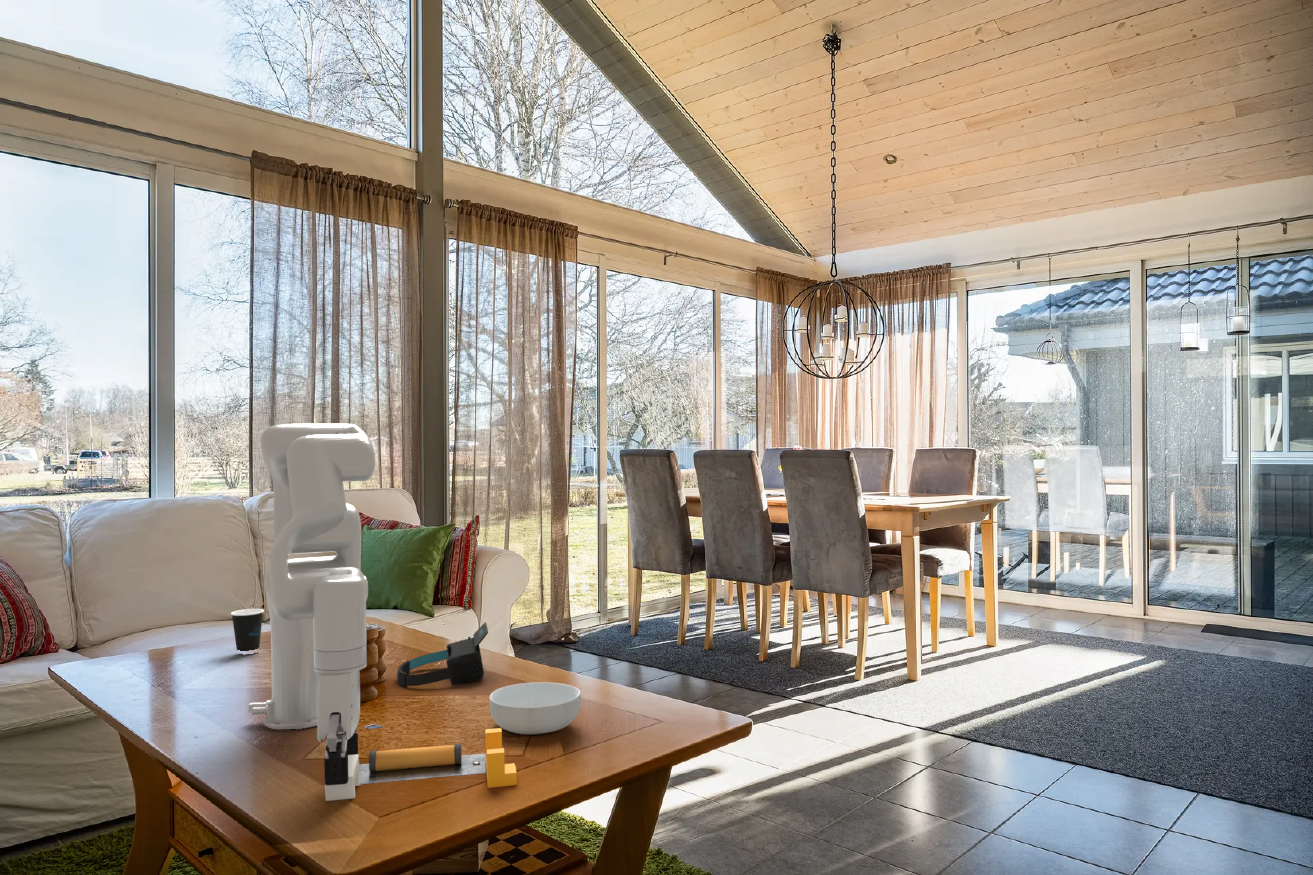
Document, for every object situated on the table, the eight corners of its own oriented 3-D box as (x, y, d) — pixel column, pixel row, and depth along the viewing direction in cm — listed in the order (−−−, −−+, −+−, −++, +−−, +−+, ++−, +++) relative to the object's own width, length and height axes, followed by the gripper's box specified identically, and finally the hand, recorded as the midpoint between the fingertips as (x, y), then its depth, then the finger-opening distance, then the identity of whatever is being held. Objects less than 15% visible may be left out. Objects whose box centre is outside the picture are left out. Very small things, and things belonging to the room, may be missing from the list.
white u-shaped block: (326, 808, 129) (324, 779, 128) (332, 784, 135) (330, 756, 134) (354, 805, 130) (352, 776, 129) (360, 782, 135) (358, 754, 134)
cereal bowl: (555, 751, 151) (554, 710, 151) (472, 742, 157) (471, 702, 157) (596, 721, 167) (595, 684, 167) (518, 714, 173) (518, 678, 173)
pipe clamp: (516, 794, 133) (516, 751, 133) (487, 797, 132) (487, 754, 132) (512, 766, 145) (512, 727, 145) (486, 769, 144) (485, 729, 144)
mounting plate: (339, 794, 134) (339, 784, 134) (348, 772, 143) (348, 764, 143) (485, 780, 138) (485, 771, 138) (486, 760, 147) (485, 752, 147)
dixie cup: (260, 655, 228) (260, 613, 229) (227, 657, 227) (227, 615, 227) (267, 649, 236) (266, 607, 236) (235, 651, 235) (235, 609, 235)
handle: (368, 769, 138) (369, 749, 140) (370, 773, 141) (371, 753, 142) (460, 761, 141) (460, 741, 143) (461, 765, 143) (461, 746, 145)
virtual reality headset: (497, 678, 197) (488, 635, 196) (397, 703, 192) (388, 658, 191) (493, 658, 215) (485, 618, 214) (401, 680, 210) (393, 639, 210)
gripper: (324, 646, 140) (326, 753, 140) (302, 675, 123) (303, 797, 123) (373, 643, 142) (375, 749, 142) (358, 672, 125) (359, 792, 125)
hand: (342, 771), depth 133 cm, fingers open, 9 cm apart
